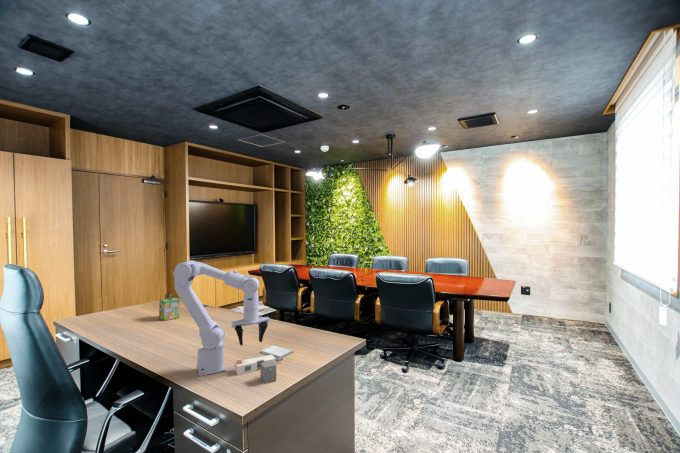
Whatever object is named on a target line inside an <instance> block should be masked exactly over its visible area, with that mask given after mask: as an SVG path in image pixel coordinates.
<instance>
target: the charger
mask: <svg viewBox="0 0 680 453" xmlns="http://www.w3.org/2000/svg"><path fill="white" fill-rule="evenodd" d="M259 369H260V372H259V373H260V374H259V375H260V379H261V381H262V382H263V384H267V383H271V382H275V381H277V363H276V364H275V363H274V362H273V361H267V362H262V363H260V368H259Z"/></svg>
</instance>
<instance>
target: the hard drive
mask: <svg viewBox="0 0 680 453" xmlns="http://www.w3.org/2000/svg"><path fill="white" fill-rule="evenodd" d="M260 354H264V355H265V356H267V355H273V356H274V357H275V358H276V359H278V358H283V359H284V358H286V357H287V356H290V355H292V354H294V350H291V349H289V348H285V347H281V346H277V345H273V344H272V345H270V346H268V347H266V348H263V349H260Z"/></svg>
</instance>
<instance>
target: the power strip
mask: <svg viewBox="0 0 680 453" xmlns="http://www.w3.org/2000/svg"><path fill="white" fill-rule="evenodd" d="M283 360H284V358H276V357H274V356H273V355H263V356H258V357H250V358H248V359H243V360H242V359H239V360H236V361H234V363H233V364H234V365H233V366H234V369H233V370H234V372H235V374H236V375H237V376H239V375H244V374H248V373H253V372H257V371H258V369H260V363H262V362H267V361H273V362H274V363H275V364H276V365H277V362H280V361H283Z"/></svg>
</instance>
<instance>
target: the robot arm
mask: <svg viewBox="0 0 680 453" xmlns="http://www.w3.org/2000/svg"><path fill="white" fill-rule="evenodd" d="M201 275H205V276H208V277H211V278H214V279H218V280H222V281H223V283H224V284H225V285H226V286H227V287H232V288H235V289H237V290H240V291H241V290H242V292H243V319H238V320H234V321H231V328H233V329H234V330H235V332H236V334H237V337H238V342H239V345H240V346H243V345H244V343H243V334H244V329H243V327H245V326H252V325H258V341H259V343H263V339H264V336H265V333H266V330H267V328H268V324H270V317H269V316H264V317H263V316H261V317H259V302H260V301H259V299H260V298H259V290H258V289H259V287H260V280H259V279H258V278H256V277H254V276H250V275H248V274H246V275H245V274H243V273H239V271H238V270H230V271H228V272H226V271H225V270H222V269H219V268H216V267H213V266H211V265H209V264H207V263H204V262H201V261H196V260H193V259H191V260H187V261H184V262H183V261H182V262H179V263H178V264H176V265H175V268H174V270H173V273H172V276H173V278H174V280H173V281H174V291H175V292H176V294H177V295H178V297H179V300H181V301H182V303H183V304H184V307H185V308H186V310H187V311H188V312H189V314H190V316H191V318H192V319H193V321H194V322H195V324H196V326H197V327H198V329H199V330H198V332H199V334H198V335H199V337H200V339H201V346H202V347H200V348H198V349H197V354H196V355H197V364H196V369H197V371H198V375H199V377H202V376H207V375H210V374H216V373H220V372H225V371H227V369H226V367H225V365H224V343H223V342H224V341H223V339H224V338H225V334H226V333H225V330H224V328H223V327H221V326H220V325H218V323H217V322H216V321H214V320H213V319H212V318H211V316H210V314H208V312H207V310H206V309H205V307H204V305H203V304H202V302H201V300H200V299H199V297H198V296H197V294H196V293H195V291H194V289H193V288H192V284H193V281H194V279H195V277H197V276H201Z"/></svg>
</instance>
